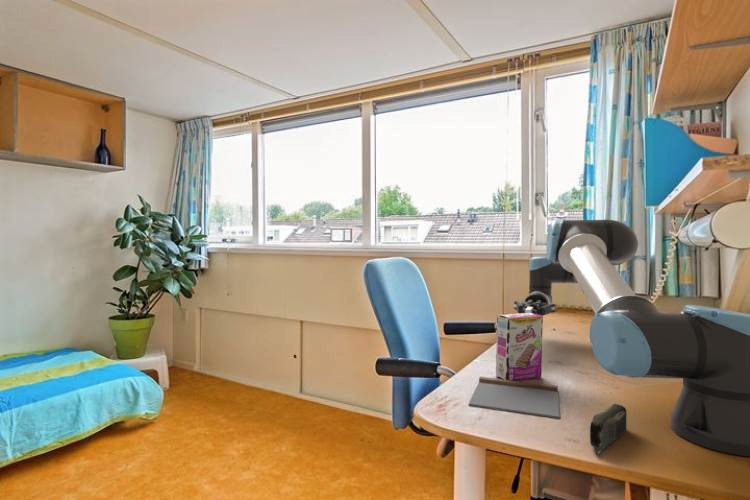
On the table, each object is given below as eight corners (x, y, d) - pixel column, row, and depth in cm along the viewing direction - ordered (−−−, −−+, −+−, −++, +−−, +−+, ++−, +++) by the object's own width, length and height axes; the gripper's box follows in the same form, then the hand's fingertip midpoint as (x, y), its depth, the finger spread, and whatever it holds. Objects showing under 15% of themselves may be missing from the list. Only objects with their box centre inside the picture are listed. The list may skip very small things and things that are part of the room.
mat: (559, 418, 84) (559, 416, 84) (468, 405, 91) (468, 403, 91) (557, 393, 98) (557, 391, 98) (479, 383, 105) (479, 381, 105)
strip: (557, 393, 99) (557, 387, 99) (479, 383, 105) (479, 378, 105) (557, 390, 100) (557, 385, 100) (480, 381, 107) (480, 376, 107)
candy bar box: (507, 383, 105) (508, 317, 105) (495, 377, 110) (495, 314, 110) (543, 378, 109) (543, 314, 109) (529, 372, 114) (530, 311, 114)
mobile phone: (611, 400, 82) (584, 422, 71) (629, 404, 80) (603, 427, 69) (611, 426, 82) (583, 451, 71) (628, 431, 80) (603, 458, 69)
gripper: (557, 316, 141) (551, 329, 120) (517, 313, 147) (504, 325, 126) (557, 293, 141) (551, 303, 120) (517, 291, 147) (504, 300, 126)
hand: (527, 314), depth 123 cm, fingers closed
